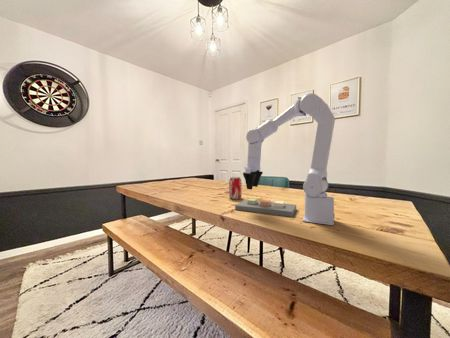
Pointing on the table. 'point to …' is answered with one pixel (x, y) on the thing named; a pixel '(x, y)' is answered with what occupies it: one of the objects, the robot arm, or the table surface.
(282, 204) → the cream key
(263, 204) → the terracotta key
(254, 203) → the sage key
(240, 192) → the soda can
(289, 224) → the table surface
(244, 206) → the key board
